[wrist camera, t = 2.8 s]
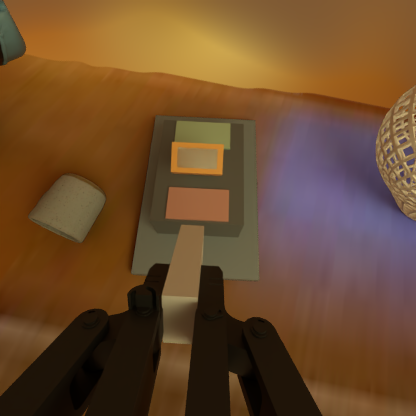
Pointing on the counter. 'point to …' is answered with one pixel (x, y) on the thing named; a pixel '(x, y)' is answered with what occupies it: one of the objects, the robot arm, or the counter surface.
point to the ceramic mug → (69, 207)
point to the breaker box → (202, 198)
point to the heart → (399, 152)
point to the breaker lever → (197, 158)
